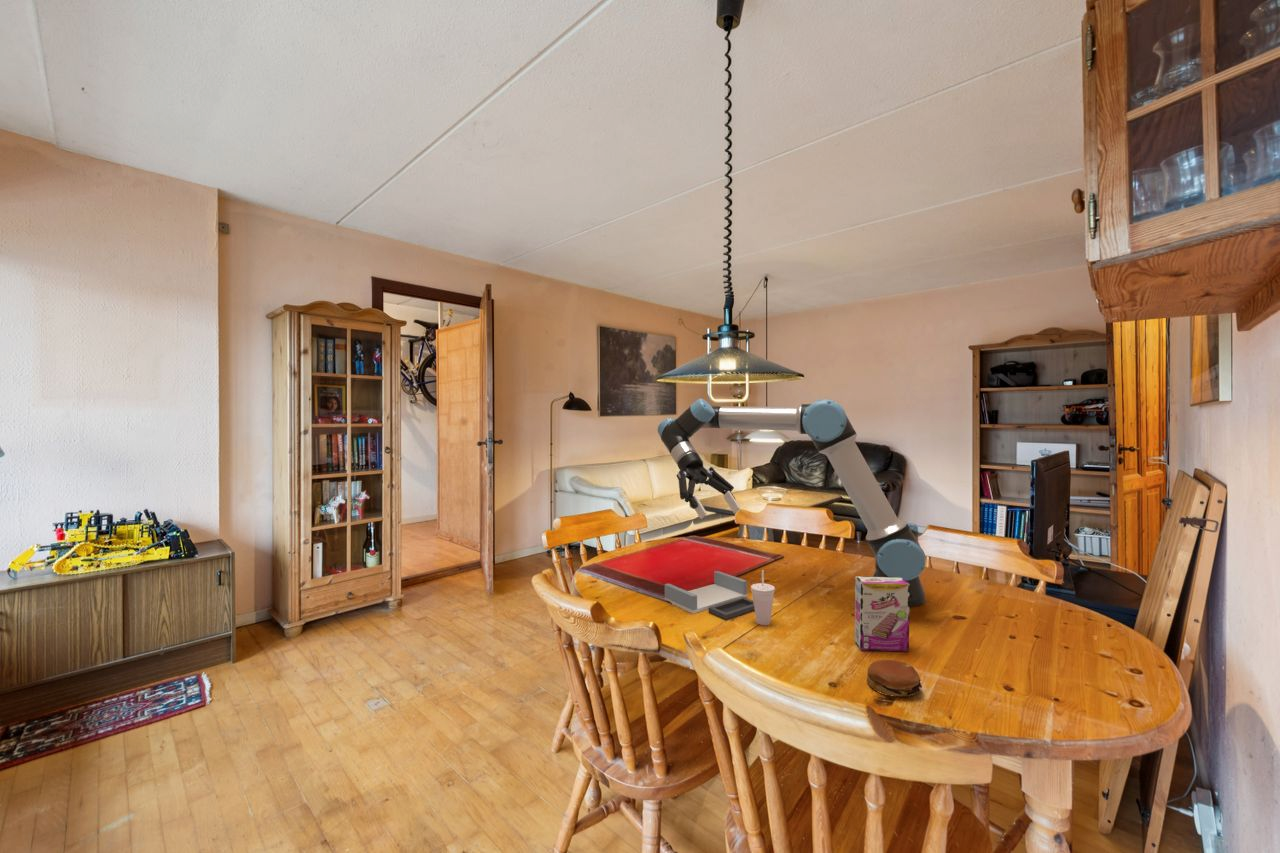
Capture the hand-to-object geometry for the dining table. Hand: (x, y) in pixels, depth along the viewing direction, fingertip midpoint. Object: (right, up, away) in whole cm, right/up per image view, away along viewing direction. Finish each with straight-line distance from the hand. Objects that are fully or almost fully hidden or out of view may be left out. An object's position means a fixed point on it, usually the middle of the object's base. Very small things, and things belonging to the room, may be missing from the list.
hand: (721, 513), depth 149 cm
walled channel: (-3, -27, +6) cm, 28 cm away
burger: (+28, -28, -45) cm, 60 cm away
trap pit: (+3, -27, -4) cm, 28 cm away
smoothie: (+9, -28, -12) cm, 32 cm away
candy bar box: (+34, -27, -28) cm, 52 cm away
